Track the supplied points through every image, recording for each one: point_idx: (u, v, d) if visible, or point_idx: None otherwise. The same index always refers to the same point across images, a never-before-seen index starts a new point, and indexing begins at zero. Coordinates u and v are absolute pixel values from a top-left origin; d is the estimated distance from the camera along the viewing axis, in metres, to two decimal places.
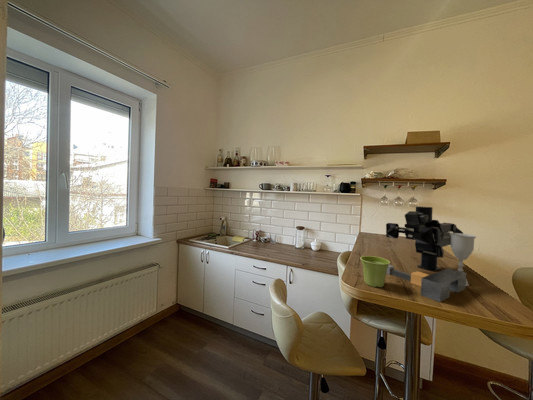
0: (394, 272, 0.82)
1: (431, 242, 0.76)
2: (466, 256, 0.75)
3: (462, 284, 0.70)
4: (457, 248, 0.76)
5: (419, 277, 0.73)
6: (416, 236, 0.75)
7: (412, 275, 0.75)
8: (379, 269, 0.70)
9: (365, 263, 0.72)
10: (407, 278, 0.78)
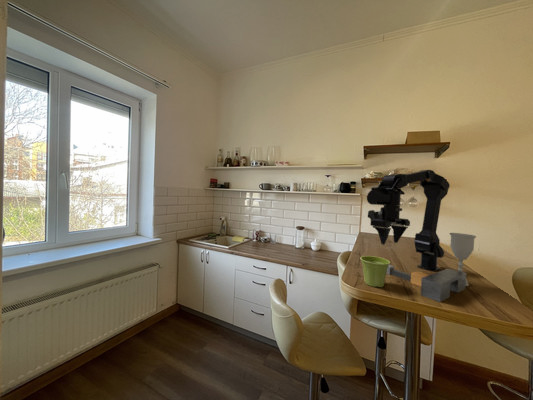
0: (394, 272, 0.82)
1: (385, 229, 0.79)
2: (466, 256, 0.75)
3: (462, 284, 0.70)
4: (457, 248, 0.76)
5: (419, 277, 0.73)
6: (381, 240, 0.82)
7: (412, 275, 0.75)
8: (379, 269, 0.70)
9: (365, 263, 0.72)
10: (407, 278, 0.78)
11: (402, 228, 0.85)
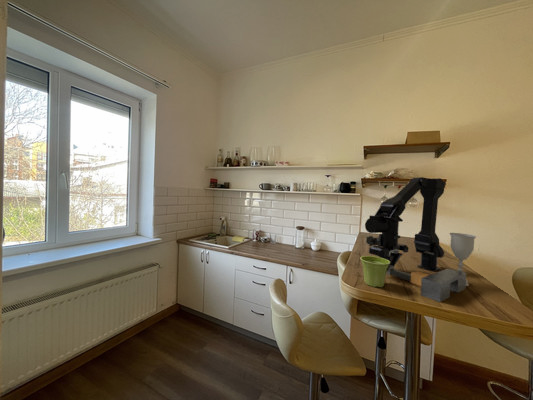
0: (394, 272, 0.82)
1: (387, 257, 0.80)
2: (466, 256, 0.75)
3: (462, 284, 0.70)
4: (457, 248, 0.76)
5: (419, 277, 0.73)
6: None
7: (412, 275, 0.75)
8: (379, 269, 0.70)
9: (365, 263, 0.72)
10: (407, 278, 0.78)
11: (397, 255, 0.84)
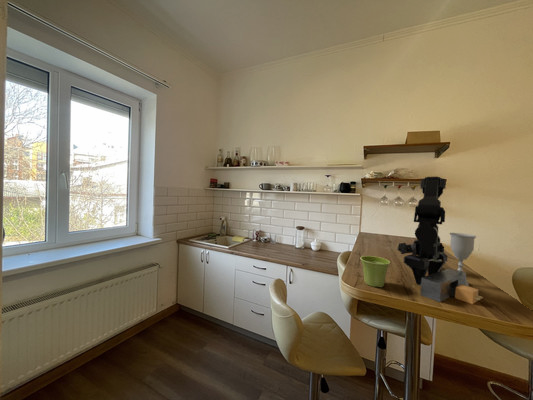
0: None
1: (422, 269, 0.68)
2: (466, 256, 0.75)
3: (462, 284, 0.70)
4: (457, 248, 0.76)
5: (467, 292, 0.62)
6: (417, 280, 0.71)
7: (457, 289, 0.64)
8: (379, 269, 0.70)
9: (365, 263, 0.72)
10: (450, 292, 0.67)
11: (439, 264, 0.74)
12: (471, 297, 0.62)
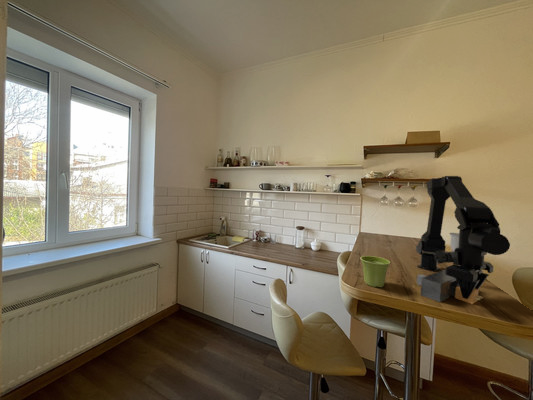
0: None
1: (473, 281, 0.59)
2: None
3: None
4: None
5: None
6: (463, 293, 0.62)
7: (457, 289, 0.64)
8: (379, 269, 0.70)
9: (365, 263, 0.72)
10: (450, 292, 0.67)
11: (482, 277, 0.63)
12: (471, 297, 0.62)
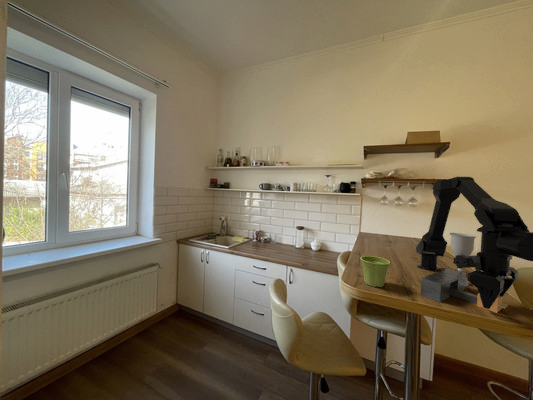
0: (451, 291, 0.67)
1: (496, 290, 0.54)
2: None
3: (462, 284, 0.70)
4: (457, 248, 0.76)
5: None
6: (484, 303, 0.57)
7: (479, 297, 0.60)
8: (379, 269, 0.70)
9: (365, 263, 0.72)
10: (470, 299, 0.63)
11: (509, 282, 0.60)
12: (495, 305, 0.57)
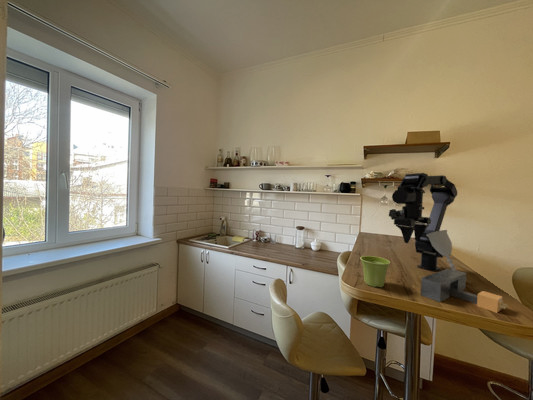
0: (451, 291, 0.67)
1: (409, 228, 0.79)
2: (448, 250, 0.80)
3: (462, 284, 0.70)
4: (437, 245, 0.82)
5: (490, 300, 0.58)
6: (405, 239, 0.83)
7: (479, 297, 0.60)
8: (379, 269, 0.70)
9: (365, 263, 0.72)
10: (470, 299, 0.63)
11: (424, 226, 0.86)
12: (495, 305, 0.57)
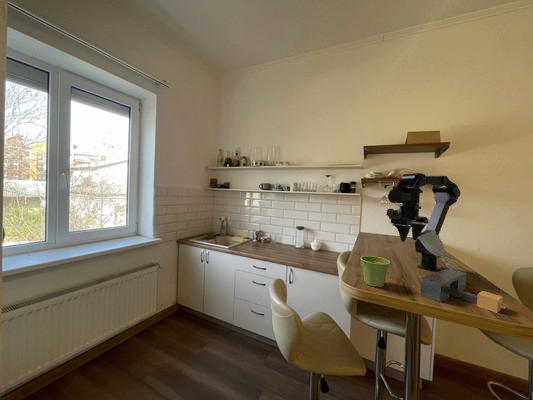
0: (451, 291, 0.67)
1: (405, 227, 0.81)
2: (441, 250, 0.81)
3: (462, 284, 0.70)
4: (429, 247, 0.83)
5: (490, 300, 0.58)
6: (401, 238, 0.84)
7: (479, 297, 0.60)
8: (379, 269, 0.70)
9: (365, 263, 0.72)
10: (470, 299, 0.63)
11: (421, 226, 0.87)
12: (495, 305, 0.57)
